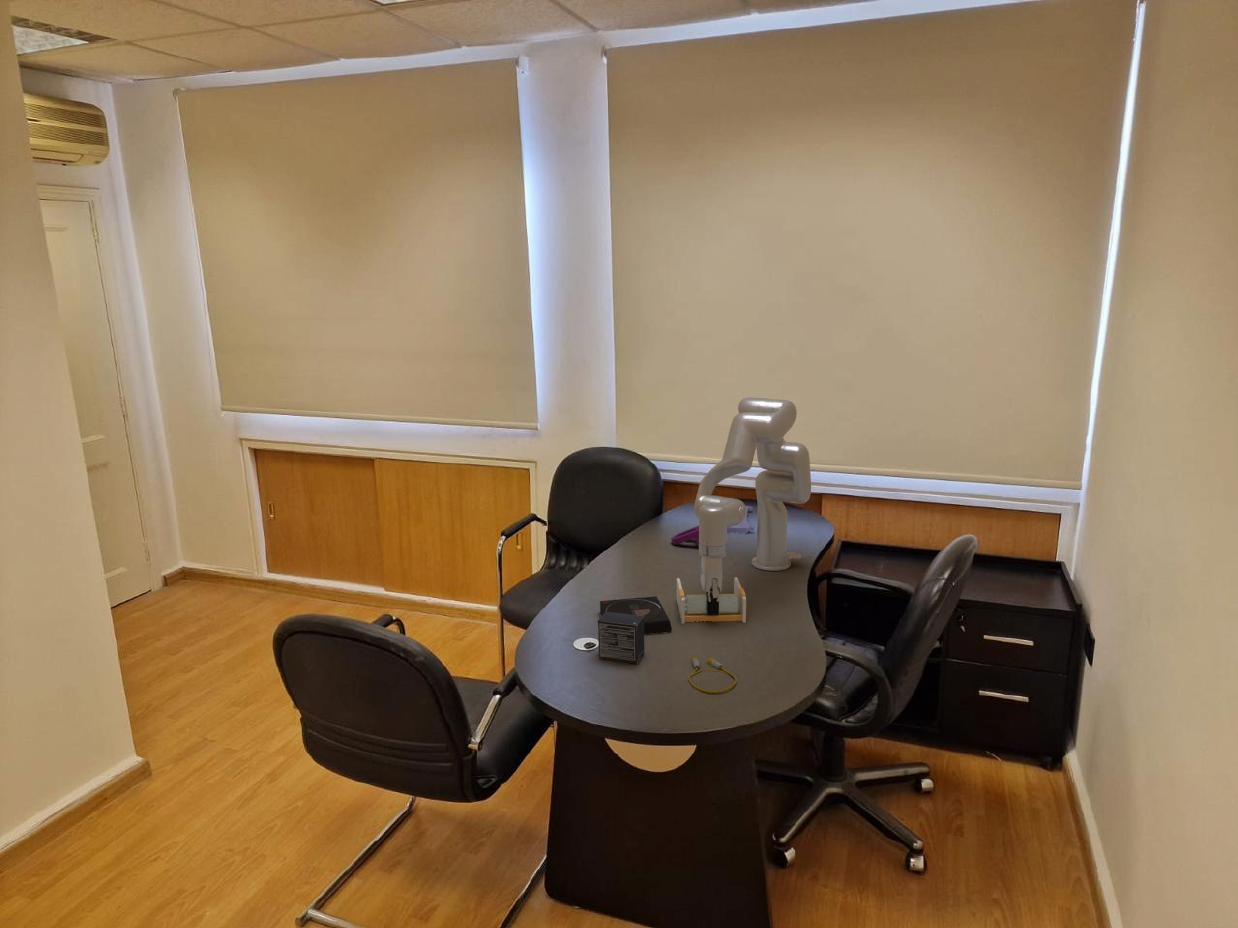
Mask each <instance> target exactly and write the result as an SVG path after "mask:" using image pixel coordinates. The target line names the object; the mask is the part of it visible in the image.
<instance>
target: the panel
mask: <svg viewBox="0 0 1238 928" xmlns="http://www.w3.org/2000/svg"><path fill="white" fill-rule="evenodd" d="M711 595H712V594H711ZM685 596H686V603H685V604H686V615H685V616H700V615H708V614H707V601H708V594H706V593H705V594H686V595H685ZM718 615H739V614H738V596H737V594H734V593H719V614H718Z"/></svg>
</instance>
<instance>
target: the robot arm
mask: <svg viewBox="0 0 1238 928" xmlns="http://www.w3.org/2000/svg"><path fill="white" fill-rule="evenodd" d="M737 411H738V413H737V414H735V416H733V418H732V421H731V425H730V428H729V431H728V437H727V440H726V443H725V447H724V451H723V454H722V458H721V460H720V461H719V462H718V463H717V464H716V465H714V466H712V468H711V469H710V470H709V471H708V472H707V473H706V474H705V475H704V476H703V478H702V479H701V480H700V483H699V486H698V490H697V493H696V495H695V496H696V497H695V501H694V507H693V512H694V515H695V517H696V518H697V519H698V526H699V546H698V555H700V557H701V560H700V561H701V564H700V565H701V566H700V583H701V584H700V585H701V588H702V591H703V592H704V593H705V594H708V601H707V614H708V615H718V614H719V594H720V593H721V592H722V590H723V558H724V557H726V556H727V547H728V546H727V544H728V542H727V541H728V539H727V537H728V536H727V534H728V533H727V528H728V527H732V526H735V525H738V524H739V523H741V522H742V521H743V519H744V518H745V515H746V507H745V506H746V504H745V503H744V502H743V501H742V500H740V499H737V498H734V497H726V496H718V495H712V494H713V491H714V489H715V488H716V487H717V485H718V484H719V483H721V482H722V481H724V480H725V479H728V478H731V477H733V476H737V475H740V474H743V473H745V472H748V471H750V470H751V469H752V465H753V461H754V456H755V453H756V456H757V457H756V458H757V463H758V465H759V467H760V468H762V469H763V470H762V471H761V472H759V473H758V474H757V475H756V477H755V481H754V483H755V484H754V485H755V493H756V500H757V526H756V527H757V531H756V536H757V537H756V556H754V557H753V558H752V559H751V565H752V566H753V567H754V568H756V569H759V570H763V571H770V572H776V571H777V572H778V571H784V570H788V569H789V568H790V567H791V565H792V563H791V561H801V560H802V554H801V553H796V552H795V551H794V552H793V551H791V552H788V550H787V548H788V547H787V546H788V545H787V543H788V542H787V541H788V540H787V539H788V510H787V508H786V506H785V504H784V503H792V504H805V503H807V501H809V500H810V497H811V493H812V477H811V461H810V460H811V459H810V452H809V450H808V448H807V447H806V445H804V444H803V443H800V442H792V441H787V440H785V438H784V437H785V435H786V434H787V433H788V432H789V431H790V430H791V429H792V427H794V424H795V423H796V420H797V415H798V414H797V413H798V412H797V411H798V410H797V407H796V405H795V403H794V402H792V401H791V400H786V399H775V398H764V397H763V398H762V397H750V396H749V397H745V398H742V399H740V401H739V402H738V405H737ZM711 594H712V595H711Z"/></svg>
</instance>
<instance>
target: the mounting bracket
mask: <svg viewBox="0 0 1238 928" xmlns="http://www.w3.org/2000/svg"><path fill="white" fill-rule="evenodd" d="M691 540H695V541H696V543H697V546H698V547H699V525H696V526H693V527H692V528H689V529H686V530H683V531H681V532H679V533H677V534H675V535H674V536H673V537H671V542H672V544H673V545H676V546H677V545H679V544H683V543H685V542H689V541H691Z"/></svg>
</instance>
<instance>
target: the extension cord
mask: <svg viewBox="0 0 1238 928" xmlns="http://www.w3.org/2000/svg"><path fill="white" fill-rule="evenodd" d="M706 664H707V665H709V666H710V667H712V668H715V669H716V670H715V669H700V668H701V667H700V665H701V664H700V661H699V659H698V658H697V656H694V657H692V658H691V665H692V667H693V668H694V670H693V672H692V673H691V674H690V675H689V676H688V682H689V684H690V685H691V687H692V688H694V689H695V690H696V691H699V692H702V693H705V694H706V693H707V694H711V695H712V694H713V695H716V694H717V695H719V694H725V693H728V692H729V691H731V690H732V689H734V688H735V687H736V685H737V684H738V679H737V677H736V676H735V675H734V674H733V673H732V672H730V671H729V670H727V669H725V668H724V667H723V663H721V662H719V661H718V660H716V659H715V657H710V658H708V659H707V662H706ZM722 670H723V671H722ZM700 672H717V673H722V674H727V675H729V676H730V677H733V678H734V682H733V683H732V685H731V686H729V687H726V688H724V689H720V690H707V689H703V688H700V687H698V686H696V684H694V683H693V682H692V681H691V677H692V676H694V675H697V674H698V673H700Z"/></svg>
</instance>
